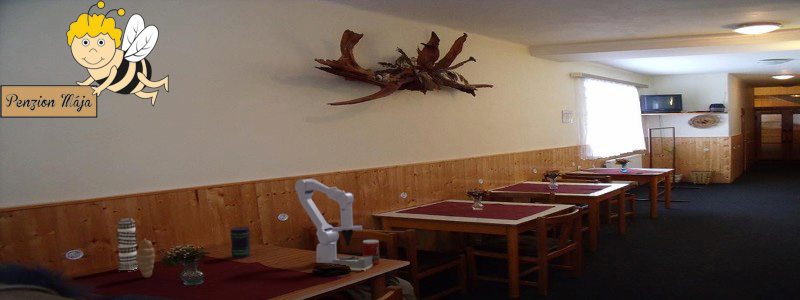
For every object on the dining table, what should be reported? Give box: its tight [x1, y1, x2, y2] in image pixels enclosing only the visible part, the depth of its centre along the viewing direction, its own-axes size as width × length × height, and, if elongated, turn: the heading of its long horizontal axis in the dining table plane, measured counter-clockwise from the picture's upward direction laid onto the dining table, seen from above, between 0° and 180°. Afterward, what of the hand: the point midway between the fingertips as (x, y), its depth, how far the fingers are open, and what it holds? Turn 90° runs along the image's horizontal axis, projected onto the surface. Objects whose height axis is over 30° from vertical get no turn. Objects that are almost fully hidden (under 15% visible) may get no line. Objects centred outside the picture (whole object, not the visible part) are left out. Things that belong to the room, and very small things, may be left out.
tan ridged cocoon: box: [136, 237, 156, 279], centre depth 272 cm, size 9×8×18 cm
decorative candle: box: [116, 217, 139, 271], centre depth 290 cm, size 9×9×25 cm
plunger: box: [348, 255, 359, 261], centre depth 279 cm, size 4×7×4 cm
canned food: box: [362, 239, 380, 266], centre depth 288 cm, size 8×8×11 cm
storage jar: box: [230, 226, 251, 259], centre depth 315 cm, size 10×10×15 cm
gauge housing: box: [332, 255, 374, 271], centre depth 280 cm, size 17×10×5 cm, turn 71°
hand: (347, 245), depth 289 cm, fingers closed
